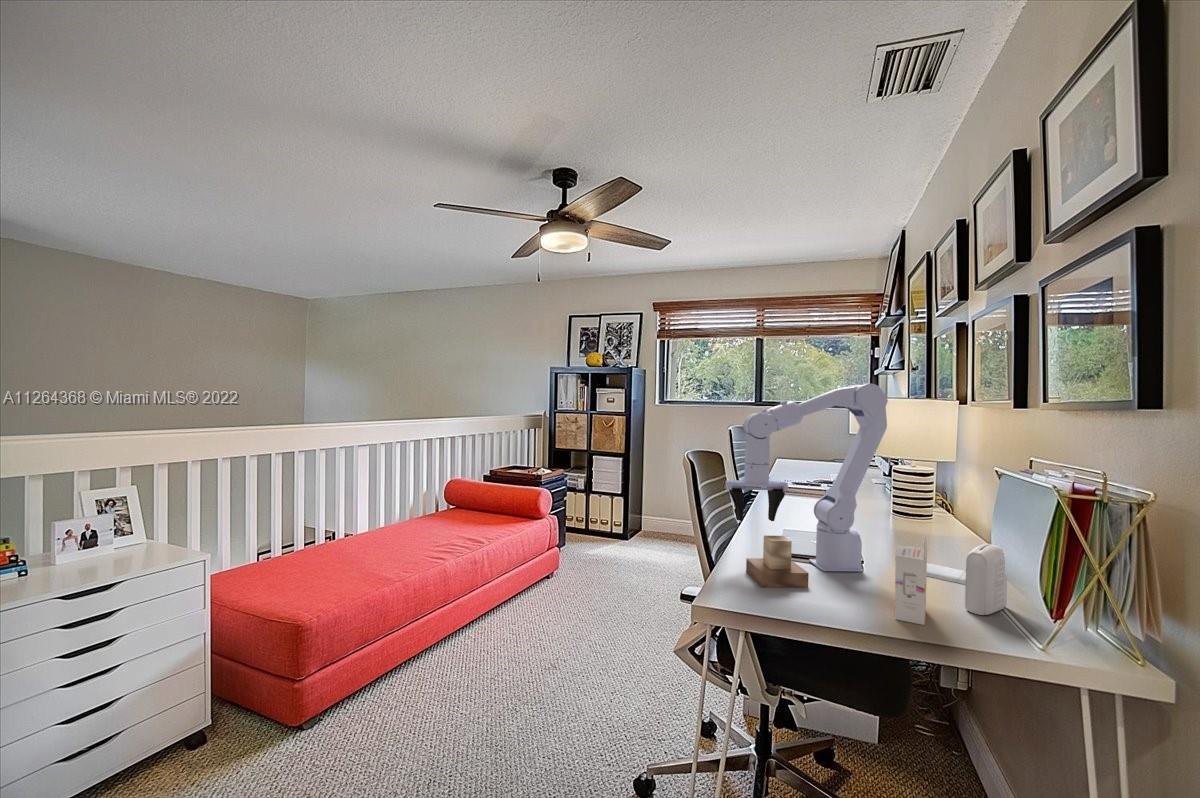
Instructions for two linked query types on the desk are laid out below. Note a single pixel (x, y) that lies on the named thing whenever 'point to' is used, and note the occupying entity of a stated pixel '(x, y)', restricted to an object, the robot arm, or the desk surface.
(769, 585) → the walnut base
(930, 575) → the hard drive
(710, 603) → the desk surface
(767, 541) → the maple block
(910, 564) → the ink cartridge box
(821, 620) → the desk surface
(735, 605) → the desk surface
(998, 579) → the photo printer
